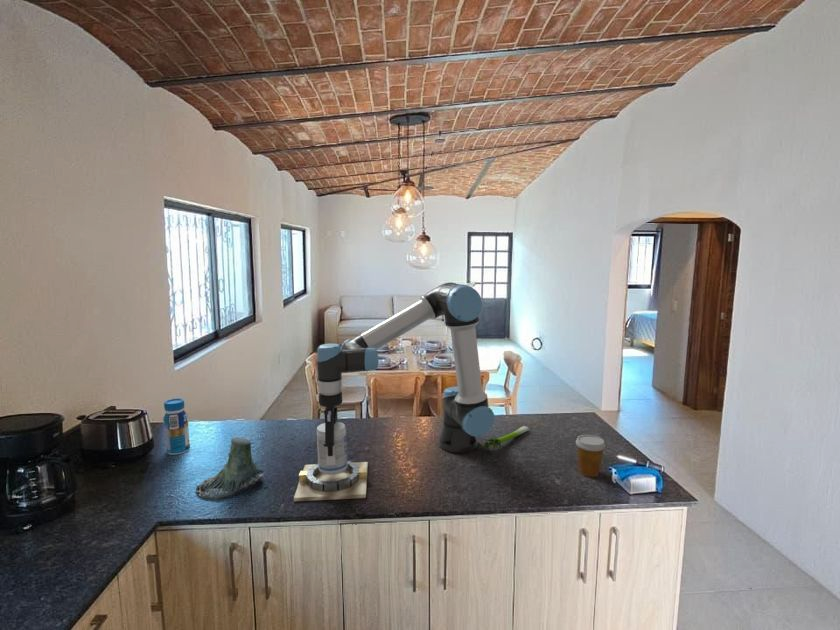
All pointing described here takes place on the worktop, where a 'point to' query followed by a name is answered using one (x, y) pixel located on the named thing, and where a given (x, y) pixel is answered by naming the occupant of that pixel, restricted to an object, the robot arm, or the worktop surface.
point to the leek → (504, 438)
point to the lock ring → (332, 485)
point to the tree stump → (232, 473)
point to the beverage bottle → (176, 427)
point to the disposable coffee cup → (589, 454)
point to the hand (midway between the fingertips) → (332, 457)
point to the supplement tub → (339, 449)
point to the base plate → (353, 492)
